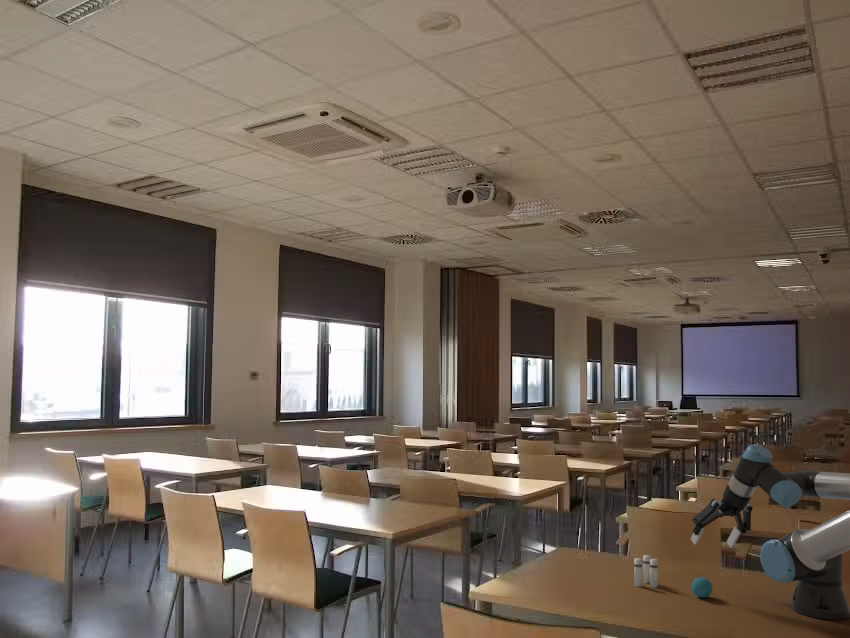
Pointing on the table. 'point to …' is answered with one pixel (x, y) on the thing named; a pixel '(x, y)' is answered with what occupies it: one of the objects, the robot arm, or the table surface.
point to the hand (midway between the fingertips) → (711, 543)
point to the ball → (702, 587)
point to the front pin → (654, 573)
